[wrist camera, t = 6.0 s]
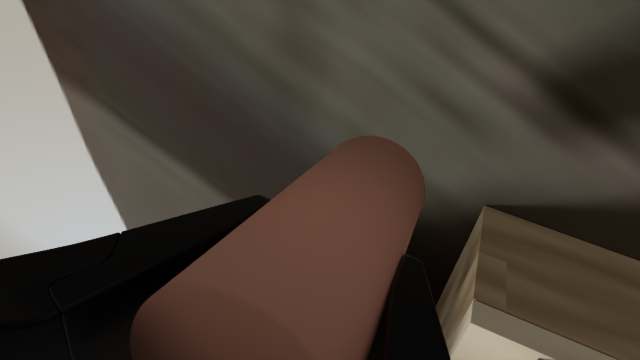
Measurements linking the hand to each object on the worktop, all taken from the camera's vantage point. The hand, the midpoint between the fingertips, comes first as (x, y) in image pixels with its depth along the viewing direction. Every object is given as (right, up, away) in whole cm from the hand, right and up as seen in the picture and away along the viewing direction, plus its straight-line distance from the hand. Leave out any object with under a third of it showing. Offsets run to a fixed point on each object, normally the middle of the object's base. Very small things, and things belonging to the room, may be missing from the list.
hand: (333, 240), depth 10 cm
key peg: (+1, +1, +3) cm, 4 cm away
